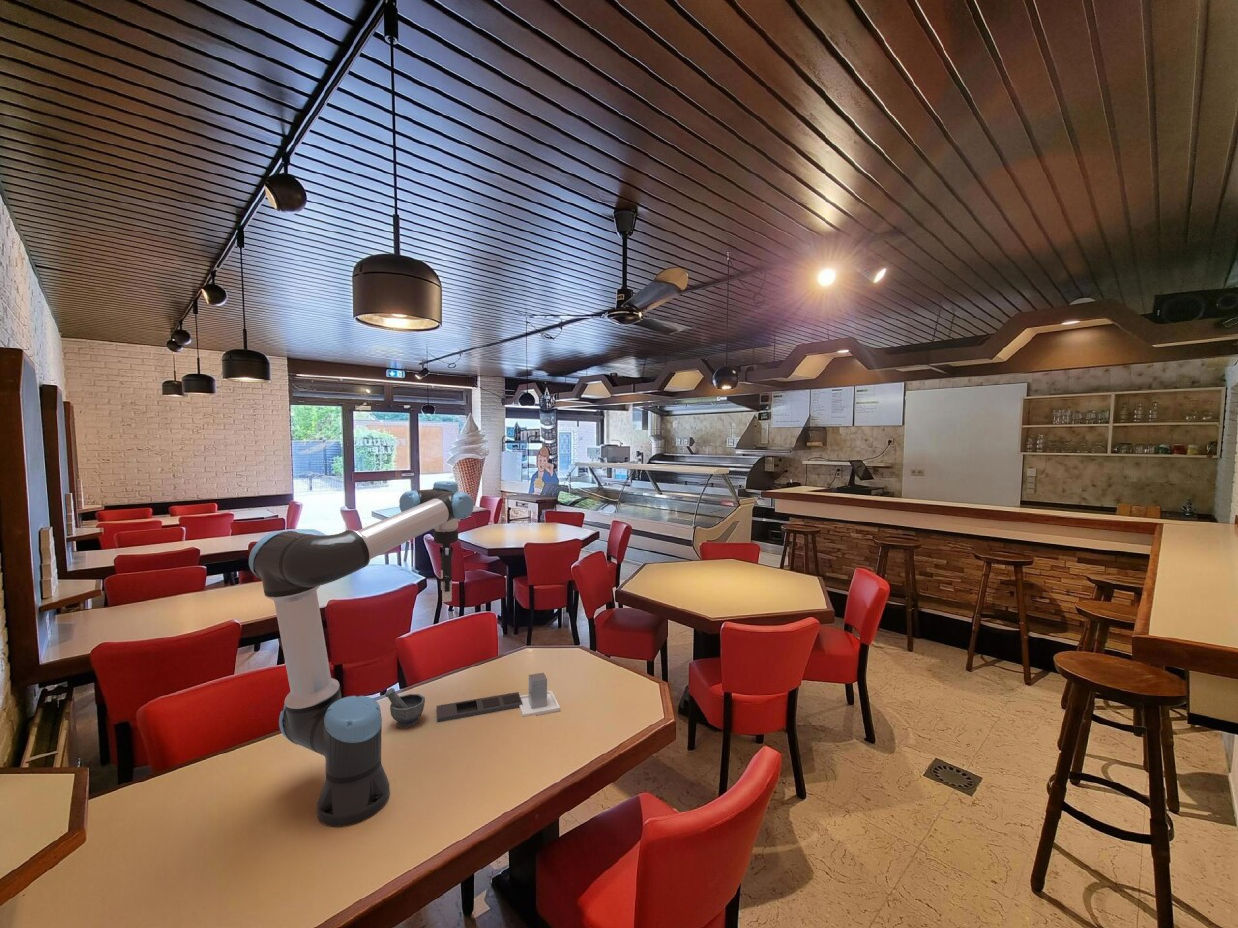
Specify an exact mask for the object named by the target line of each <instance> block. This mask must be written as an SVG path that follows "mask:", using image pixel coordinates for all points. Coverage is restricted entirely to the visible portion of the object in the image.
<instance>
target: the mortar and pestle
mask: <svg viewBox="0 0 1238 928" xmlns="http://www.w3.org/2000/svg"><path fill="white" fill-rule="evenodd" d="M384 696H385V697H387V699H388V700H389V701H390V705H389V711H390V717H392V719H393V720H394V721H396V722H397V723H396V728H400V729H408V728H411V727H414V726H415V725H417V724H418V723H419V719H420V717H421V716H422V715H423V711H424V707H425V702H426V697H425V695H424V696H423V695H422V694H419V693H408V694H403V695H399V694H398V693H397V692H396V690H395V688H393V687H391V688H389V689H388V690H386V692H385V693H384Z"/></svg>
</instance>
